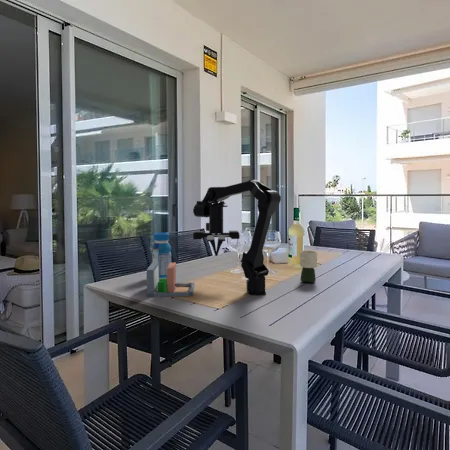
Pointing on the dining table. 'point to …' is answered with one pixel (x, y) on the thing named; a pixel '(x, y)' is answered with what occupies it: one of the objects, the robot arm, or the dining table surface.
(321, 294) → the dining table surface
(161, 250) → the beverage bottle
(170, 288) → the sliding jaw
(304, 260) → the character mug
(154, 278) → the vise body
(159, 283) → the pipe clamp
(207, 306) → the dining table surface
